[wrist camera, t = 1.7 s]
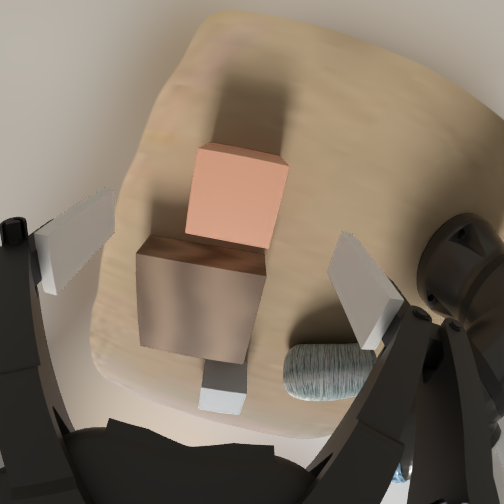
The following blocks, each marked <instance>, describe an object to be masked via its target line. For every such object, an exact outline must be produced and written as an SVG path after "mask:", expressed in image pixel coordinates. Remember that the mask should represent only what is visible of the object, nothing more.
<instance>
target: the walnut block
mask: <svg viewBox="0 0 504 504" xmlns="http://www.w3.org/2000/svg"><path fill="white" fill-rule="evenodd" d="M265 280H266V267H265V256H264V254H258V253H252V252H246V251H240V250H234V249H229V248H223V247H217V246H211V245H205V244H199V243H193V242H188V241H182V240H176V239H170V238H164V237H158V236H153V235H150V236H149V237H148V239H147V240H146V241H145V242H144V244H143V245H142V246H141V248H140V249H139V250H138V251H137V253H136V288H137V309H138V324H139V336H140V346H144V347H148V348H153V349H157V350H162V351H167V352H171V353H176V354H182V355H187V356H192V357H198V358H204V359H210V360H216V361H223V362H230V363H237V364H243V363H244V360H245V356H246V352H247V348H248V345H249V341H250V337H251V334H252V330H253V326H254V322H255V318H256V315H257V311H258V307H259V303H260V299H261V296H262V292H263V288H264V284H265Z"/></svg>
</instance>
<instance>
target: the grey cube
mask: <svg viewBox="0 0 504 504" xmlns="http://www.w3.org/2000/svg"><path fill="white" fill-rule="evenodd" d="M246 395H247V362H244V363H243V364H237V363H230V362H223V361H216V360H210V359H206V361H205V367H204V374H203V380H202V387H201V394H200V401H199V408H198V409H200V410H206V411H212V412H219V413H226V414H234V415H239V413H240V411H241V408H242V405H243V403H244V400H245V397H246Z"/></svg>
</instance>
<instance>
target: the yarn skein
mask: <svg viewBox="0 0 504 504" xmlns="http://www.w3.org/2000/svg"><path fill="white" fill-rule="evenodd" d="M375 360H376V354H375V352H374V350H365V349H361V348H360V345H359V343H350V344H298V345H295V346H293V347H292V348H291V349H289V351H288V353H287V355H286V357H285V360H284V368H283V385H284V387H285V389H286V391H287V392H288V393H289V394H290V395H291V396H292V397H295V398H298V399H302V400H308V401H333V400H340V399H345V398H350V397H355V396H357V395H358V393H359V391H360V390H361V388H362V386H363V385H364V383H365V381H366V379H367V377H368V376H369V374H370V372H371V370H372V368H373V366H374V364H373V363H374V361H375Z"/></svg>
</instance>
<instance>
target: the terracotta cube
mask: <svg viewBox="0 0 504 504" xmlns="http://www.w3.org/2000/svg"><path fill="white" fill-rule="evenodd" d="M289 167H290V166H289V165H288V164H287V163H286V162H285V161H284V160H283V159H282V157H281V156H278V155H273V154H269V153H264V152H260V151H255V150H250V149H245V148H240V147H235V146H229V145H224V144H218V143H212V142H210V143H208V144H206V145H204V146H202V147H200V148H198V150H197V156H196V162H195V167H194V174H193V180H192V186H191V193H190V200H189V207H188V214H187V221H186V229H185V233H187V234H192V235H197V236H203V237H208V238H213V239H219V240H224V241H229V242H234V243H240V244H245V245H250V246H255V247H261V248H266V249H269V245H270V241H271V238H272V234H273V230H274V226H275V222H276V218H277V214H278V211H279V207H280V203H281V199H282V195H283V191H284V187H285V183H286V179H287V175H288V171H289Z"/></svg>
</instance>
